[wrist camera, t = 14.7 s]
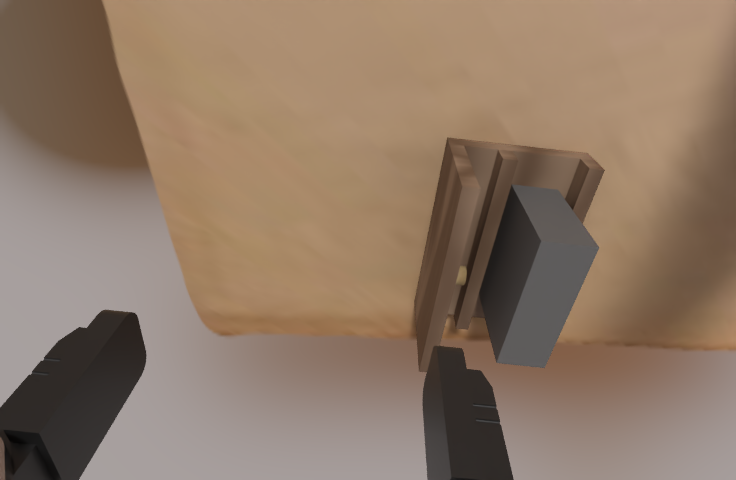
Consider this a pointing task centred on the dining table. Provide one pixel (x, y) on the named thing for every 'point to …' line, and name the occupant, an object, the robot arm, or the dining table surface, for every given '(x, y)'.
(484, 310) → the mini frame
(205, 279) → the dining table surface
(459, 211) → the picture ledge
